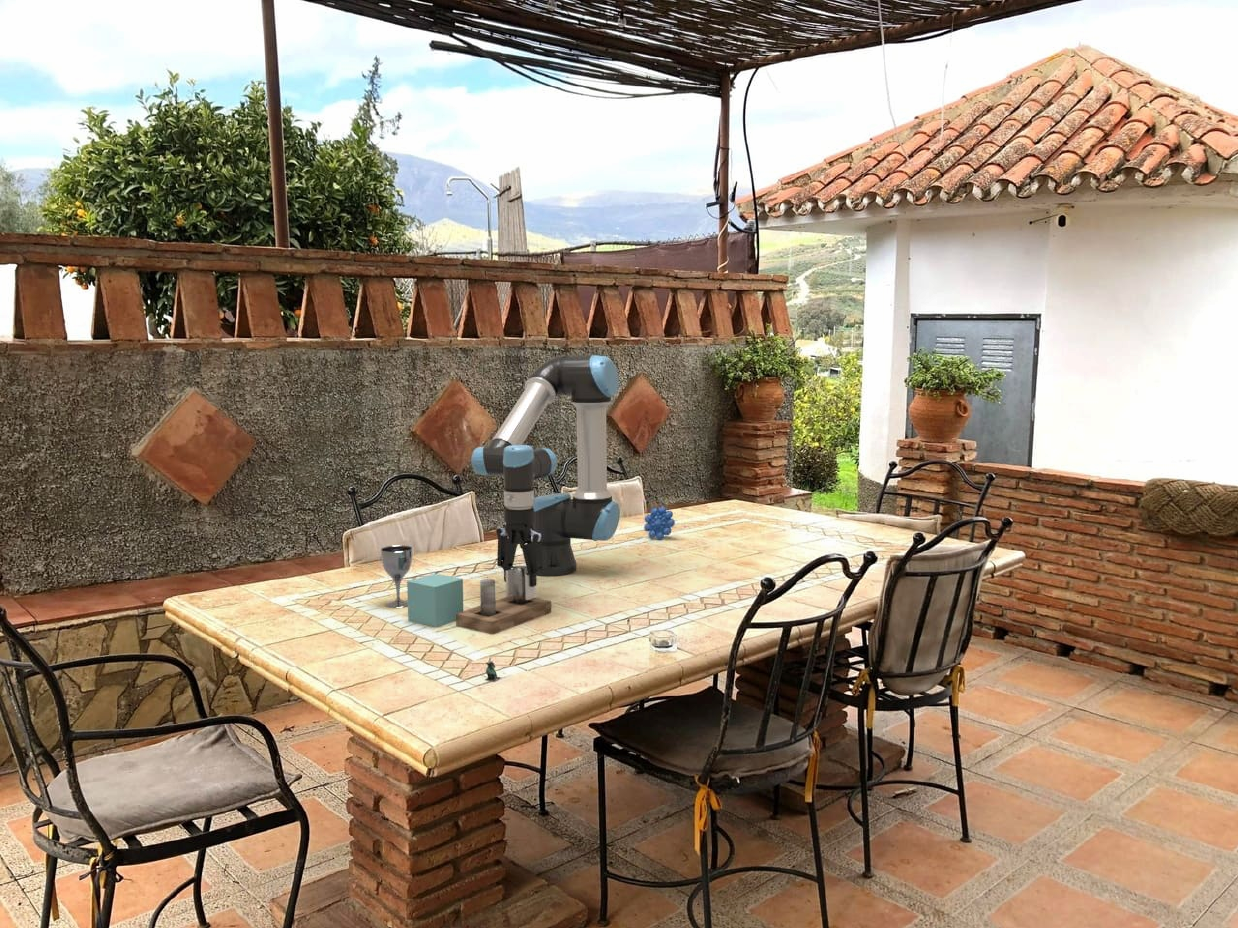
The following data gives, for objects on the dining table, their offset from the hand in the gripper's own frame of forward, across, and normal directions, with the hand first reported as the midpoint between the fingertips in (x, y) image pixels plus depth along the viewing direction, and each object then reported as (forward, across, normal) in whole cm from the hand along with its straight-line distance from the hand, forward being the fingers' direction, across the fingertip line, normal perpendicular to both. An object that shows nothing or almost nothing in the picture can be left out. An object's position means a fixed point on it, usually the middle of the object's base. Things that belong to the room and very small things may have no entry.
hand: (520, 596), depth 239 cm
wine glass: (+5, -32, -12) cm, 34 cm away
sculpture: (+5, +26, -39) cm, 48 cm away
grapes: (+5, -19, +97) cm, 99 cm away
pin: (+4, 0, 0) cm, 4 cm away
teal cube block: (+4, -14, -16) cm, 22 cm away
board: (+4, 0, -6) cm, 7 cm away
